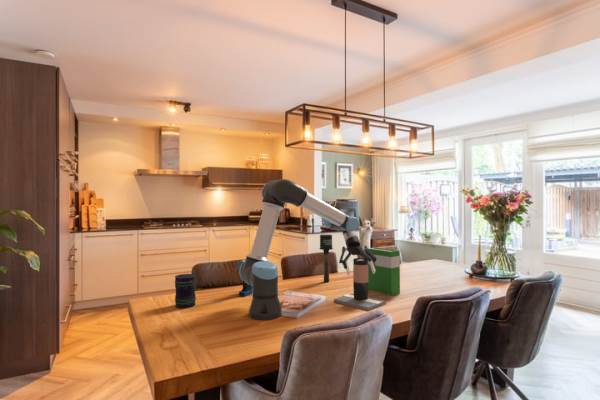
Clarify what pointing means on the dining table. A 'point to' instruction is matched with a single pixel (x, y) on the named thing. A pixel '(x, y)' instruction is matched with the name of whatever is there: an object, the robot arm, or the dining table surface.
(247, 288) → the handheld scanner
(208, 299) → the dining table surface
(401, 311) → the dining table surface
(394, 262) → the hardback book
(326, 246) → the potato masher grenade
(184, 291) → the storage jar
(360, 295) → the travel mug
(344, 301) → the grey book
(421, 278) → the dining table surface
